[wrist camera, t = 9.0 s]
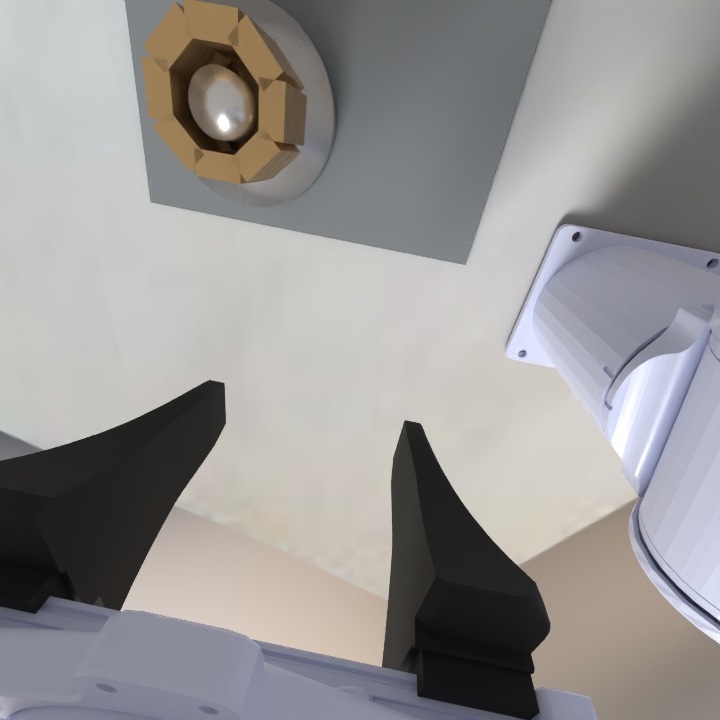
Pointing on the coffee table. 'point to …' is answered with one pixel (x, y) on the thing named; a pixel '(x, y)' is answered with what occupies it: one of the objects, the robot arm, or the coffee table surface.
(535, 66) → the coffee table surface
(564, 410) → the coffee table surface
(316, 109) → the metal peg stand
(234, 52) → the ring
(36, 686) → the robot arm
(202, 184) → the bench mat
